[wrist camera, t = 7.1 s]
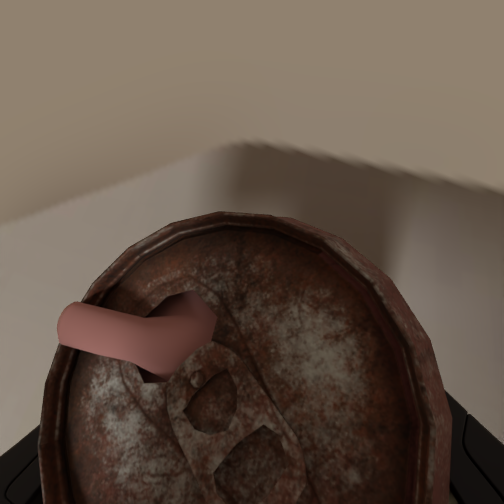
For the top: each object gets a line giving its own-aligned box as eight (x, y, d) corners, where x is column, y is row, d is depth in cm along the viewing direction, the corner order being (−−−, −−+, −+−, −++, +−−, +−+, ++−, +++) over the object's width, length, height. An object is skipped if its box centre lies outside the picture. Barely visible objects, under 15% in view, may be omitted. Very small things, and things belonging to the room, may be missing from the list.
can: (271, 300, 19) (85, 178, 6) (389, 322, 16) (492, 201, 4) (248, 411, 17) (-65, 562, 4) (374, 452, 15) (460, 992, 2)
